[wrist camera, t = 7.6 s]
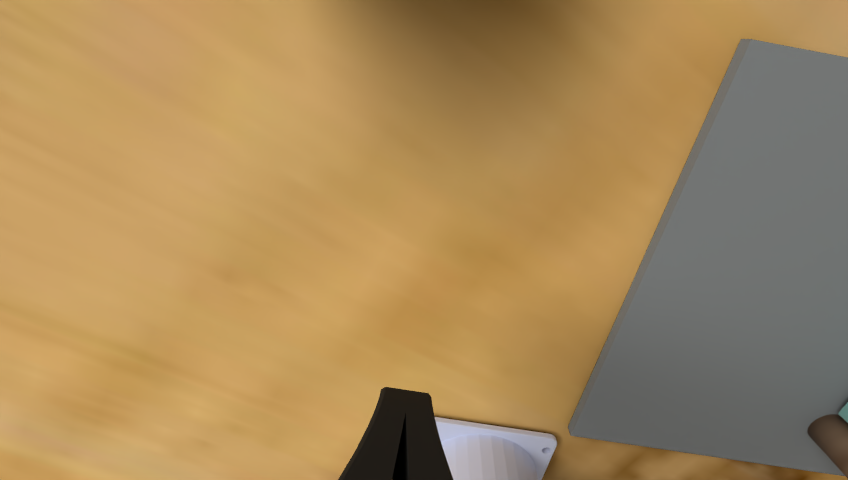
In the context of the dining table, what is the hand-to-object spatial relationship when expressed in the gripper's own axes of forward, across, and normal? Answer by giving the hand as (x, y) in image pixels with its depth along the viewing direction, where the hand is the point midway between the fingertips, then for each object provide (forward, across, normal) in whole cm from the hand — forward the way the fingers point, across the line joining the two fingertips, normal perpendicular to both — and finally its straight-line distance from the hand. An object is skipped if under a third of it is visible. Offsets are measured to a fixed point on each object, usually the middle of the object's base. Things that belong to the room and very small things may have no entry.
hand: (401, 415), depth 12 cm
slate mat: (+9, -19, -1) cm, 21 cm away
